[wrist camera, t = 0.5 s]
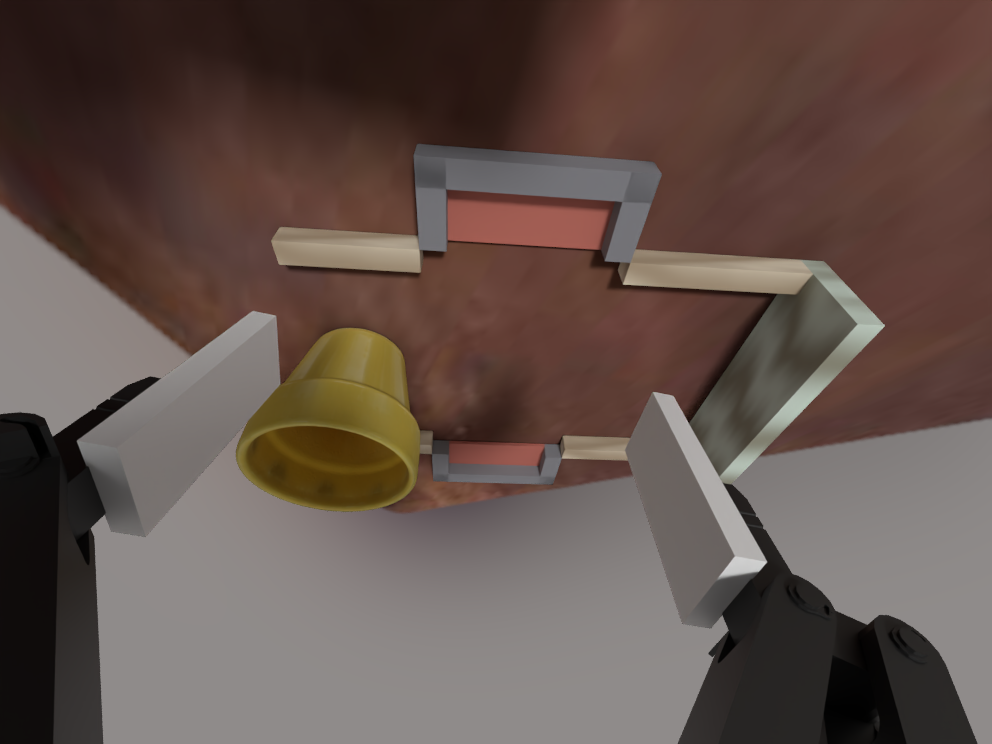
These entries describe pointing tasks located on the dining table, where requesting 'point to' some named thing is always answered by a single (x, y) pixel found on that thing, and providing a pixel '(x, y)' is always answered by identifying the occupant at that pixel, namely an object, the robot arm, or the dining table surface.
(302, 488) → the plant pot
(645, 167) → the trap bays
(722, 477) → the box
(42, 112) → the dining table surface
